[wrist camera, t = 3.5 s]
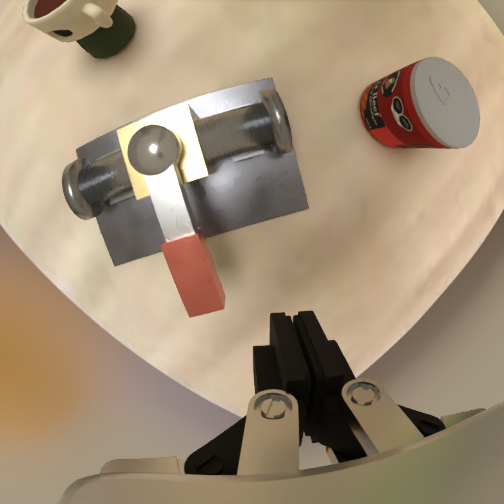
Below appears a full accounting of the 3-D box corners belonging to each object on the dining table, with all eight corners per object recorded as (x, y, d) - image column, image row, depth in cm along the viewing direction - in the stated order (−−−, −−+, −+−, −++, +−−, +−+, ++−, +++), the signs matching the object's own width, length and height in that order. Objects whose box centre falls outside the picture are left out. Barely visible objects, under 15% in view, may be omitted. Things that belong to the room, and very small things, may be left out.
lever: (131, 137, 19) (119, 135, 17) (174, 120, 19) (167, 115, 16) (189, 304, 23) (184, 318, 21) (230, 293, 23) (229, 307, 21)
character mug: (67, 43, 21) (5, 9, 8) (107, 1, 19) (60, -49, 7) (118, 80, 23) (52, 41, 11) (164, 32, 22) (124, -31, 10)
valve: (271, 78, 24) (281, 54, 18) (307, 207, 29) (328, 221, 22) (77, 149, 25) (40, 149, 18) (115, 265, 29) (88, 291, 23)
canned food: (370, 70, 24) (425, 38, 14) (423, 108, 25) (487, 98, 15) (347, 124, 26) (402, 108, 16) (403, 161, 27) (469, 166, 17)
